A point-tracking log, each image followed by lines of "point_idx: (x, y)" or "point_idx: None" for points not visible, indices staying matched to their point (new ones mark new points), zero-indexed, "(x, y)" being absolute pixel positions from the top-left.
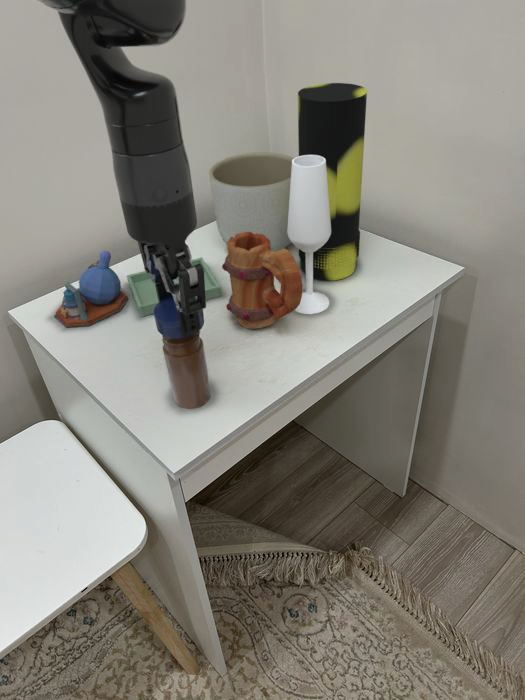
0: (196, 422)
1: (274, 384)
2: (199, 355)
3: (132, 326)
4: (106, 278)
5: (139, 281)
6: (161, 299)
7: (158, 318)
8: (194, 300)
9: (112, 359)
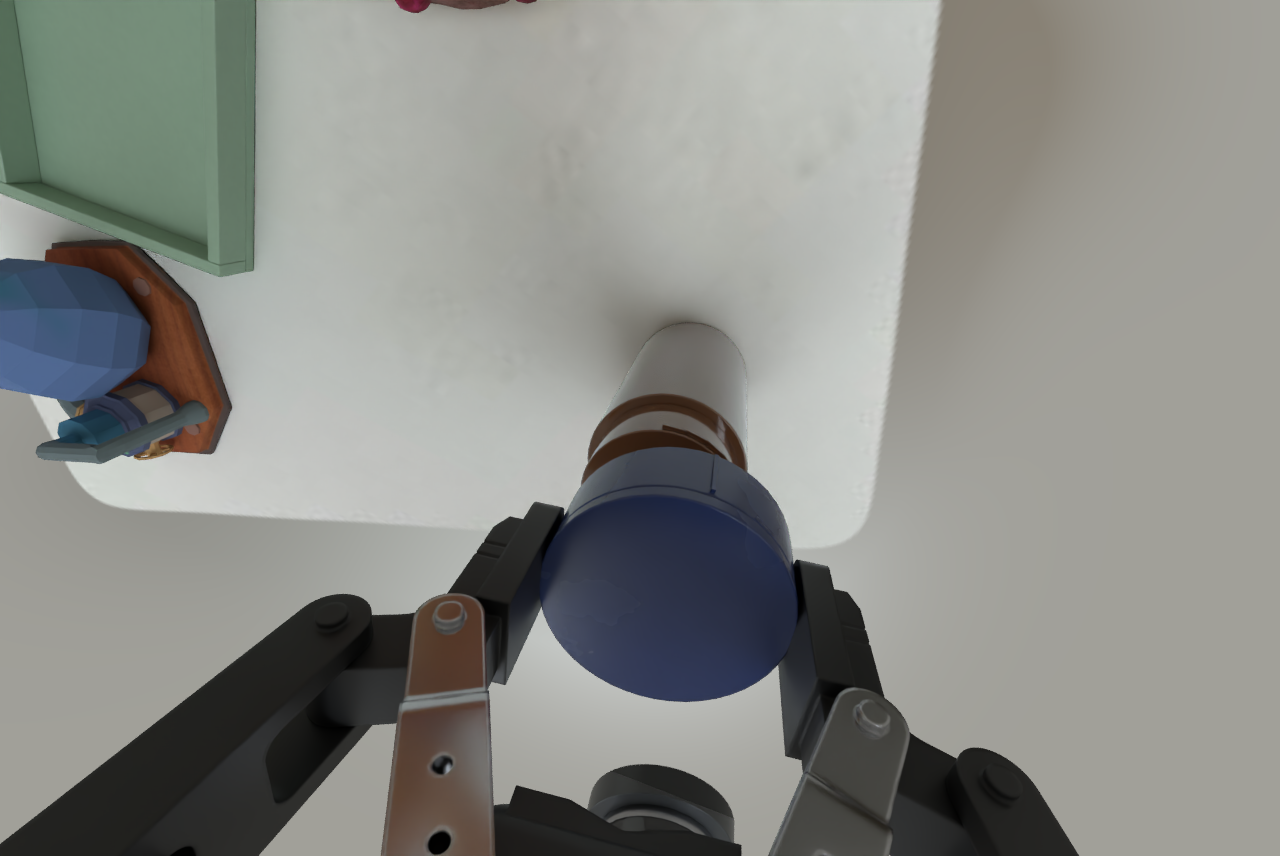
0: (784, 431)
1: (860, 140)
2: (745, 444)
3: (289, 317)
4: (41, 333)
5: (38, 153)
6: (536, 611)
7: (668, 699)
8: (970, 853)
9: (408, 440)
